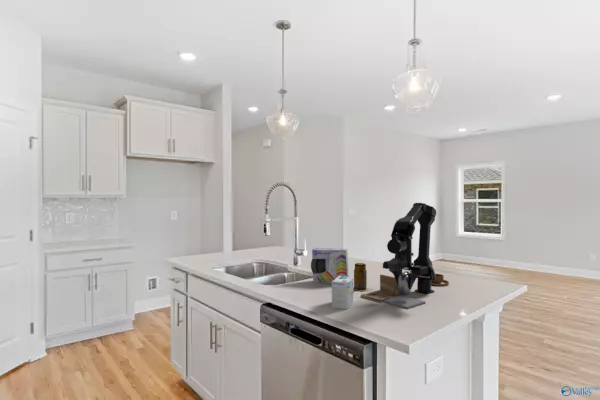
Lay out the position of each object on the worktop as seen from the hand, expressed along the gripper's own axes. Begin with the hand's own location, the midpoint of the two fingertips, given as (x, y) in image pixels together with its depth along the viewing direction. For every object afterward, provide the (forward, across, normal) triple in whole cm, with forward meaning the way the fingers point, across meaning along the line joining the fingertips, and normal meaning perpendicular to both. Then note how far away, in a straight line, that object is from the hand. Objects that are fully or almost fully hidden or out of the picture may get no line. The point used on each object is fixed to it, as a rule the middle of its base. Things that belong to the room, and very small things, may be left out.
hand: (404, 288), depth 152 cm
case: (+6, -12, -1) cm, 13 cm away
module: (+2, 0, 0) cm, 3 cm away
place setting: (+7, -14, +40) cm, 43 cm away
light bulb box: (+6, -14, -22) cm, 27 cm away
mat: (+6, 0, 0) cm, 6 cm away
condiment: (+6, -27, +3) cm, 28 cm away
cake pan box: (+6, -46, 0) cm, 46 cm away
